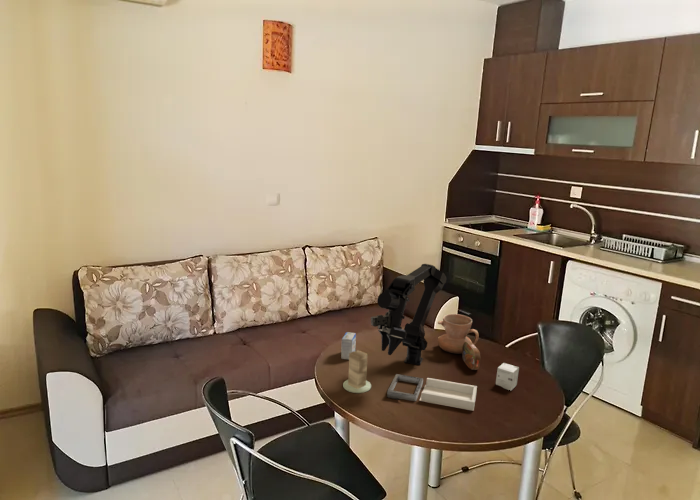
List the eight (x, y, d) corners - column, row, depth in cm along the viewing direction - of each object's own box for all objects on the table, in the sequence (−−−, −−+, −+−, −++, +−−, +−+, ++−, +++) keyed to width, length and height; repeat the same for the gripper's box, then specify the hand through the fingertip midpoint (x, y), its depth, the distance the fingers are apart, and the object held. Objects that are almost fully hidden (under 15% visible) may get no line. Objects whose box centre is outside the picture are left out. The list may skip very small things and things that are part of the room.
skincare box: (495, 386, 187) (497, 367, 186) (501, 380, 192) (503, 362, 191) (511, 391, 184) (513, 372, 182) (517, 385, 189) (519, 366, 187)
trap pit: (395, 380, 189) (396, 373, 188) (422, 384, 186) (423, 378, 185) (387, 397, 176) (387, 390, 175) (415, 403, 173) (416, 396, 172)
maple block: (356, 380, 186) (358, 349, 183) (365, 385, 183) (367, 353, 180) (348, 384, 183) (349, 353, 180) (357, 389, 180) (358, 357, 177)
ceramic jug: (429, 350, 217) (432, 318, 214) (442, 339, 229) (445, 309, 226) (470, 362, 208) (473, 329, 204) (481, 350, 220) (485, 319, 216)
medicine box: (351, 360, 204) (352, 340, 203) (340, 359, 205) (341, 338, 203) (355, 352, 212) (356, 332, 210) (344, 351, 213) (345, 331, 211)
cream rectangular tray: (425, 386, 185) (425, 377, 184) (476, 395, 180) (477, 386, 179) (419, 402, 174) (420, 392, 173) (473, 412, 168) (474, 402, 168)
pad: (348, 377, 189) (348, 376, 189) (374, 382, 186) (374, 381, 186) (339, 390, 180) (339, 388, 180) (366, 395, 177) (366, 393, 177)
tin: (460, 357, 211) (462, 338, 210) (468, 357, 212) (470, 338, 210) (472, 373, 197) (474, 353, 195) (480, 373, 197) (482, 353, 195)
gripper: (370, 304, 196) (360, 344, 195) (382, 308, 178) (371, 352, 177) (397, 311, 198) (387, 350, 197) (411, 315, 180) (401, 359, 179)
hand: (386, 352), depth 187 cm, fingers open, 9 cm apart
